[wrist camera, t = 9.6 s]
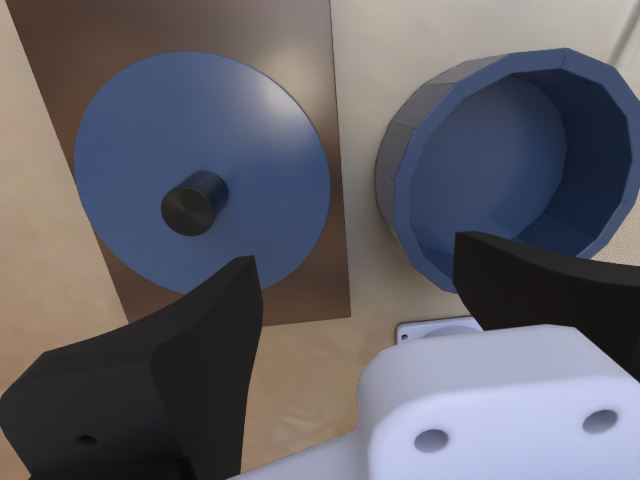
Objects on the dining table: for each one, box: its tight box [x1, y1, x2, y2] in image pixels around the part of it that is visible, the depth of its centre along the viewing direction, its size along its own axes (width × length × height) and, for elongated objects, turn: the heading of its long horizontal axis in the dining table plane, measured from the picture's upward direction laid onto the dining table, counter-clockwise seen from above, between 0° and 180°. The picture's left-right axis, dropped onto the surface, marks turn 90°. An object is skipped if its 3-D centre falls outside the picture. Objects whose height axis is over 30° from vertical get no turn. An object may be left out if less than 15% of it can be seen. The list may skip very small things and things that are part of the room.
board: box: [5, 0, 351, 327], centre depth 20 cm, size 20×15×2 cm
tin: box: [375, 48, 640, 294], centre depth 19 cm, size 13×13×5 cm
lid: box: [74, 51, 331, 294], centre depth 18 cm, size 14×14×4 cm
